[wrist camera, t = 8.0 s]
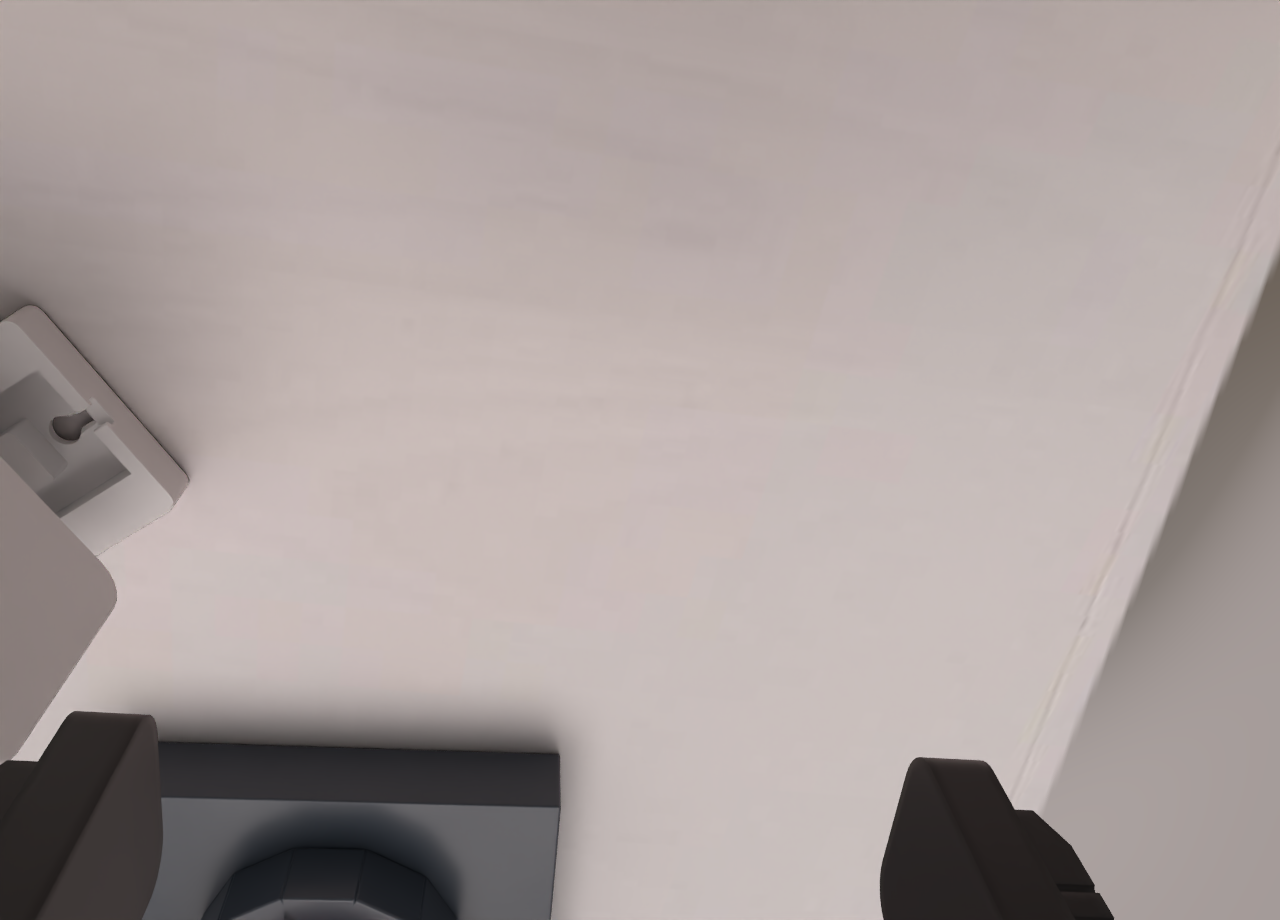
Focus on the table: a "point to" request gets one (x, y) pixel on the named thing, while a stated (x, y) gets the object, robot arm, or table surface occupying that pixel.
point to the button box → (355, 834)
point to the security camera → (62, 512)
